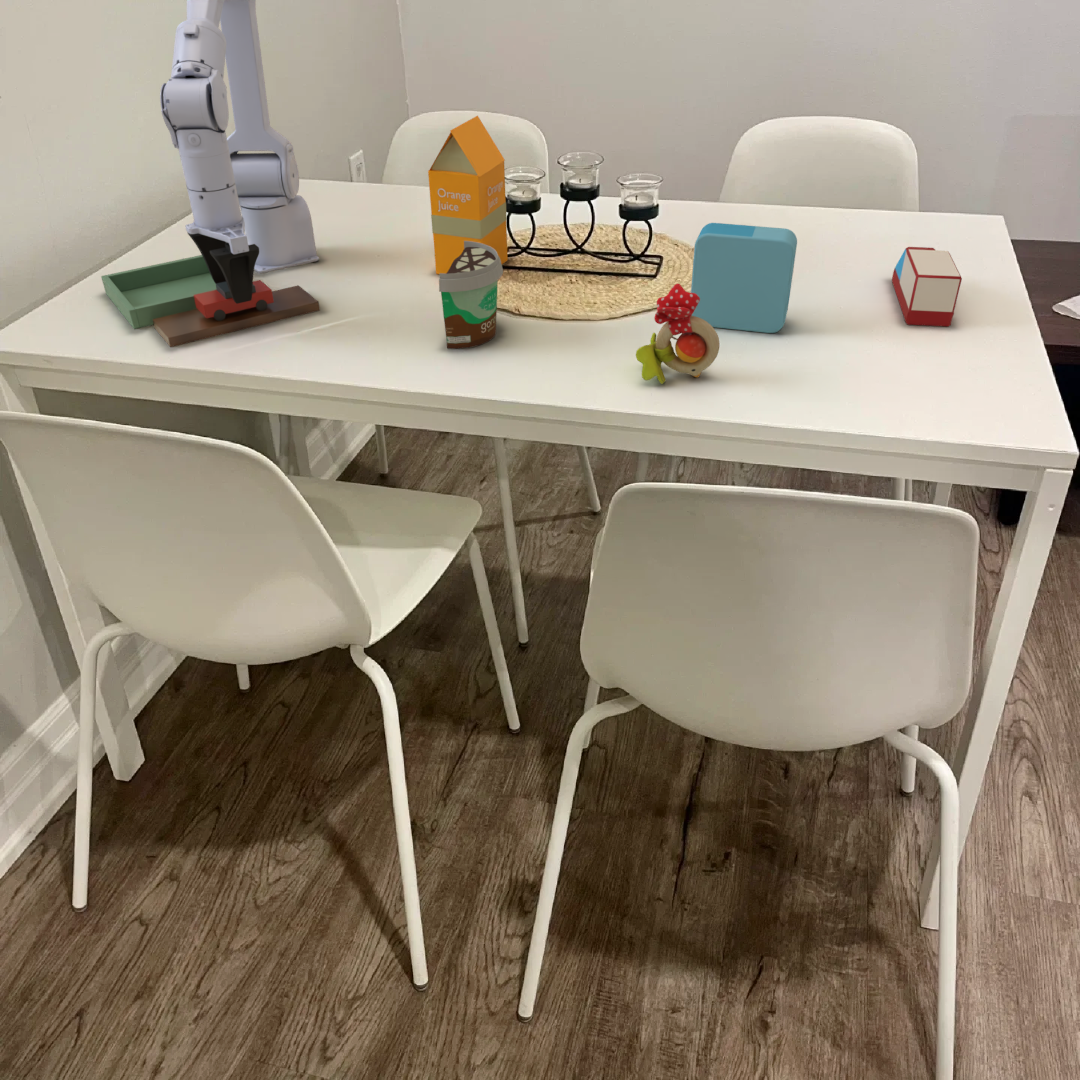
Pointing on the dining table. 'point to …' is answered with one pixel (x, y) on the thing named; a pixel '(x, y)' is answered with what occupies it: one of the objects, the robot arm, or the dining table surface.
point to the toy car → (231, 300)
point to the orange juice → (467, 194)
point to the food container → (471, 296)
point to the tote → (158, 289)
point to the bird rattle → (692, 345)
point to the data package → (743, 276)
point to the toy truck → (926, 286)
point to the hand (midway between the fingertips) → (233, 291)
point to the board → (234, 318)
